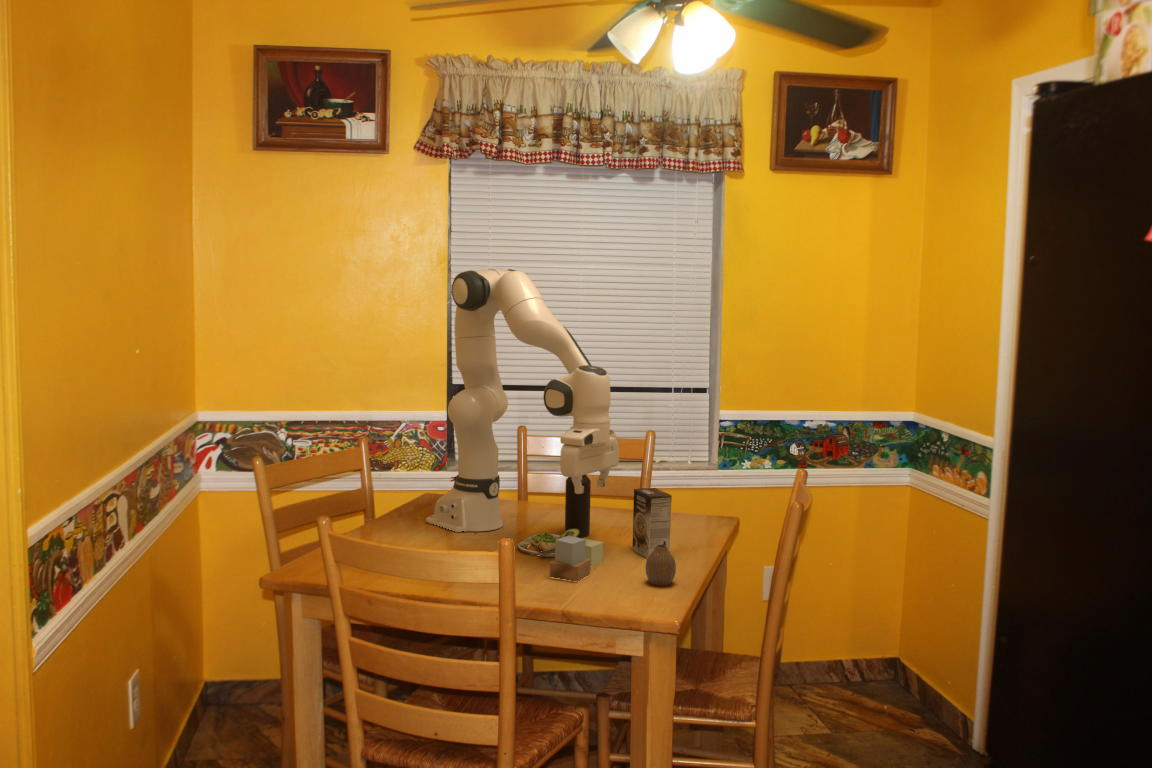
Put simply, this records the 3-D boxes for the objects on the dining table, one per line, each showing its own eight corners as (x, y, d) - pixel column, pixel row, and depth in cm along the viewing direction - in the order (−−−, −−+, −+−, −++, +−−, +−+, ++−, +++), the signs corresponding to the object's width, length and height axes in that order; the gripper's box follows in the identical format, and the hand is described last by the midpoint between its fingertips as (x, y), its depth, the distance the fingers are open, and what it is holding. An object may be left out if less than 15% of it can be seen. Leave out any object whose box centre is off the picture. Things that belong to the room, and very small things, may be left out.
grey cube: (568, 556, 220) (568, 535, 219) (585, 560, 217) (585, 539, 216) (555, 560, 216) (555, 539, 215) (572, 565, 213) (572, 543, 212)
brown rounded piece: (642, 578, 216) (644, 541, 215) (672, 578, 216) (673, 541, 216) (647, 588, 209) (648, 550, 208) (678, 588, 210) (679, 549, 209)
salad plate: (569, 565, 226) (570, 547, 225) (504, 556, 233) (504, 538, 232) (599, 546, 244) (599, 529, 243) (537, 538, 251) (537, 521, 250)
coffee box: (631, 550, 239) (632, 488, 237) (653, 548, 242) (655, 486, 240) (647, 560, 231) (649, 496, 229) (670, 557, 233) (672, 494, 232)
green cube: (574, 563, 227) (574, 543, 227) (586, 558, 231) (586, 538, 231) (591, 567, 224) (591, 546, 224) (602, 562, 228) (603, 542, 228)
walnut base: (549, 579, 215) (550, 562, 214) (563, 571, 221) (563, 555, 221) (577, 584, 212) (577, 567, 211) (590, 575, 218) (590, 559, 218)
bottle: (591, 532, 256) (592, 460, 254) (587, 538, 249) (589, 465, 247) (566, 530, 257) (568, 459, 255) (562, 537, 250) (564, 463, 248)
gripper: (604, 427, 235) (603, 481, 236) (555, 437, 218) (555, 495, 220) (625, 429, 231) (624, 484, 233) (577, 439, 215) (577, 499, 216)
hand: (590, 490), depth 226 cm, fingers open, 8 cm apart
